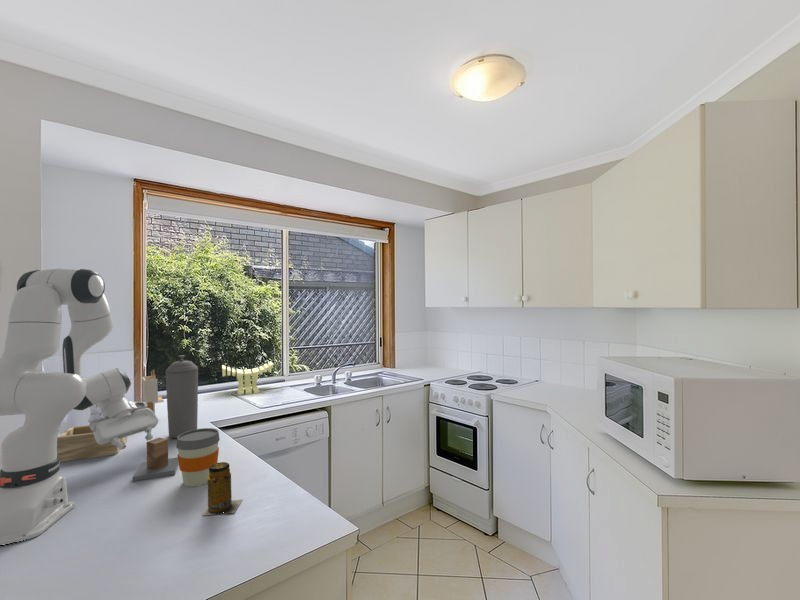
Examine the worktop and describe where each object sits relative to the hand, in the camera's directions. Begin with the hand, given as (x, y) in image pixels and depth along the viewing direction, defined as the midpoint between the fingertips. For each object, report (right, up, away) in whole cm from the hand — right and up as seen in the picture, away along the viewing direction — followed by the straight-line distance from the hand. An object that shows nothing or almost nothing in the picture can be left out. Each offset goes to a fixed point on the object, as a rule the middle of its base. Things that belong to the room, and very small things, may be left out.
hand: (137, 443), depth 138 cm
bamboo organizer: (-27, -8, +14) cm, 31 cm away
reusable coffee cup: (+28, -8, -12) cm, 32 cm away
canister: (-1, -8, +32) cm, 33 cm away
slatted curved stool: (-5, -8, +113) cm, 113 cm away
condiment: (+44, -7, -29) cm, 54 cm away
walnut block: (+10, -6, -4) cm, 13 cm away
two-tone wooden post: (-29, -9, +53) cm, 61 cm away
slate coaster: (+10, -8, -4) cm, 13 cm away
